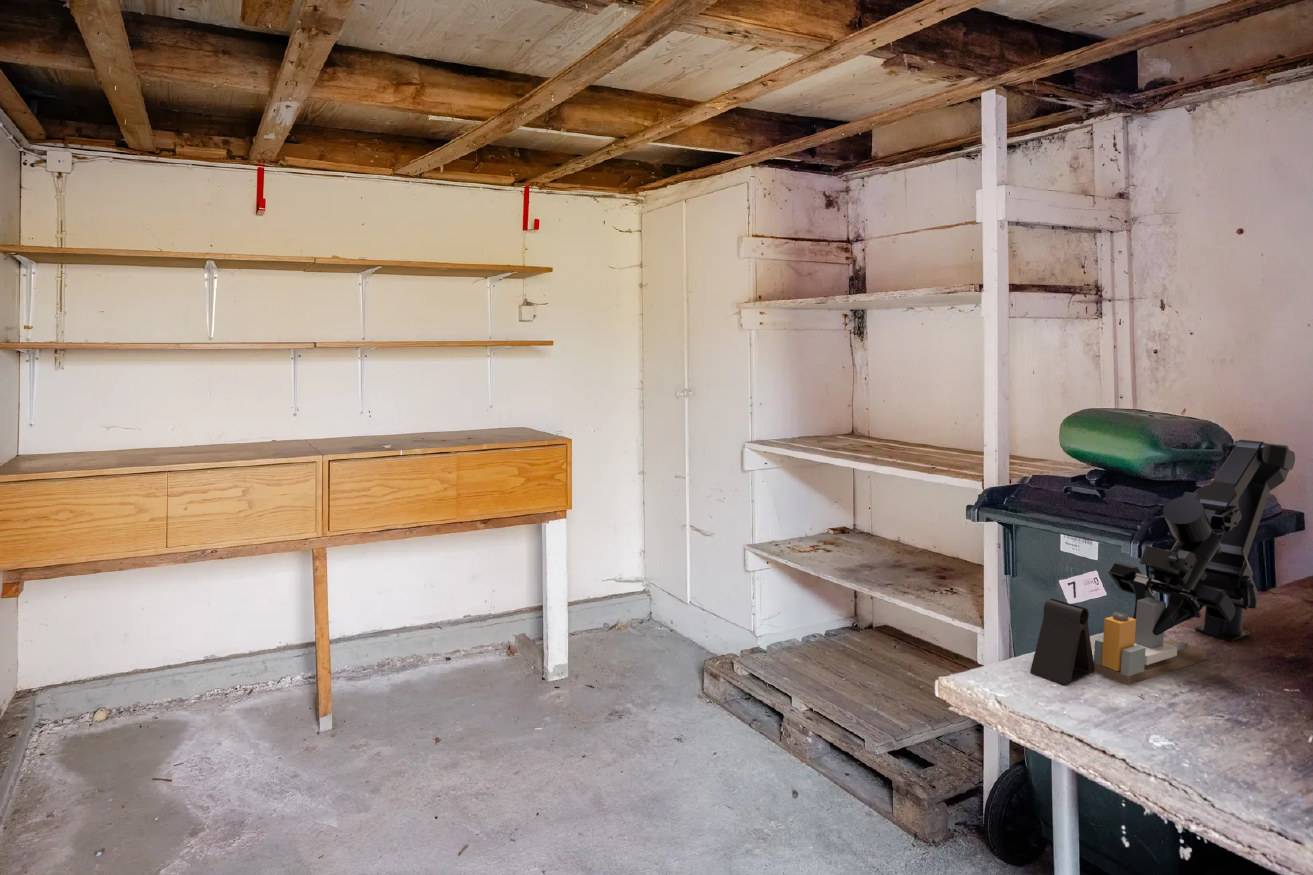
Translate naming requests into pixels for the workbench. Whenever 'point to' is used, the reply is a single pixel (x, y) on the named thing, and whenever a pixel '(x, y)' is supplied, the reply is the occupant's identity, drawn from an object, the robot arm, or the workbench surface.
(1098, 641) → the end housing
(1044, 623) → the phone stand
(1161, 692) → the workbench surface
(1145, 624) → the carriage
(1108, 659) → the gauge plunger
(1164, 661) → the rail bed
